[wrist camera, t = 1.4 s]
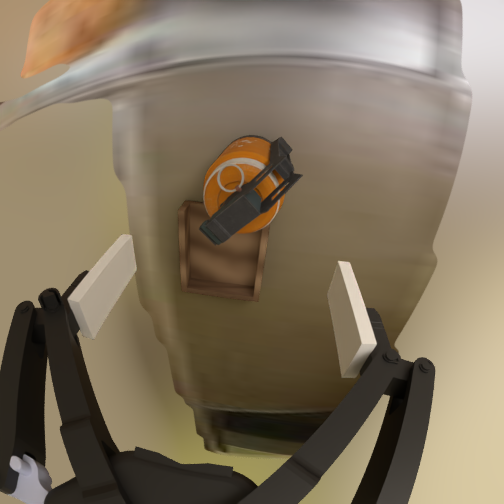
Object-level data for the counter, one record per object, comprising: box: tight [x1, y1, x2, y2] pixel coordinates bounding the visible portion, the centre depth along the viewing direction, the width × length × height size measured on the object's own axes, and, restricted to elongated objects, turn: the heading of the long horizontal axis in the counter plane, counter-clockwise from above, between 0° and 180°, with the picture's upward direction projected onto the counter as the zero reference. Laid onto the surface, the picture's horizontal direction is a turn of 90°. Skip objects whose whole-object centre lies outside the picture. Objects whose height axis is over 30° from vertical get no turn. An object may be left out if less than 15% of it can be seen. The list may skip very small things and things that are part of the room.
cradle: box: [178, 201, 270, 302], centre depth 47 cm, size 16×14×4 cm
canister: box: [199, 135, 303, 246], centre depth 32 cm, size 9×11×20 cm
